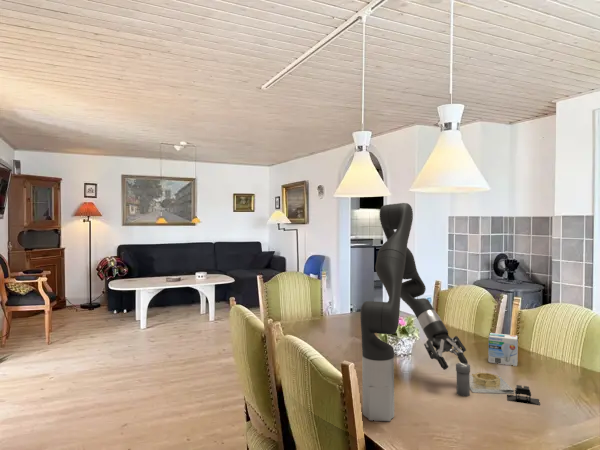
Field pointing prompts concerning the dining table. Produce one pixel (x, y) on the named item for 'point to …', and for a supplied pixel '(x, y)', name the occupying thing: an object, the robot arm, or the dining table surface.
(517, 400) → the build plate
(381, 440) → the dining table surface
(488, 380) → the hub plate
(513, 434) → the dining table surface
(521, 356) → the dining table surface
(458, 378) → the dark grey capped cylinder
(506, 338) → the light bulb box
